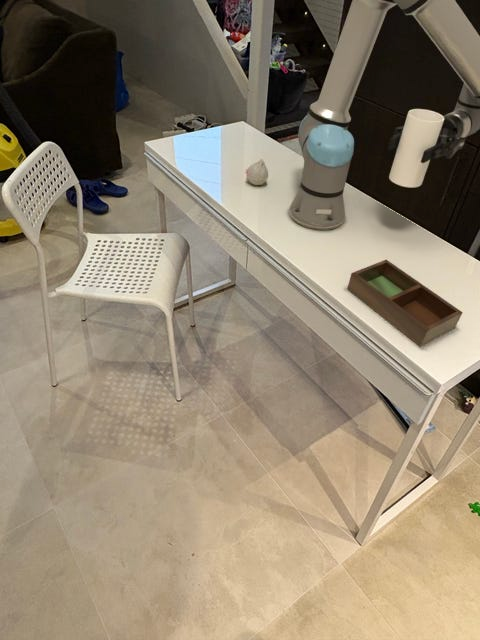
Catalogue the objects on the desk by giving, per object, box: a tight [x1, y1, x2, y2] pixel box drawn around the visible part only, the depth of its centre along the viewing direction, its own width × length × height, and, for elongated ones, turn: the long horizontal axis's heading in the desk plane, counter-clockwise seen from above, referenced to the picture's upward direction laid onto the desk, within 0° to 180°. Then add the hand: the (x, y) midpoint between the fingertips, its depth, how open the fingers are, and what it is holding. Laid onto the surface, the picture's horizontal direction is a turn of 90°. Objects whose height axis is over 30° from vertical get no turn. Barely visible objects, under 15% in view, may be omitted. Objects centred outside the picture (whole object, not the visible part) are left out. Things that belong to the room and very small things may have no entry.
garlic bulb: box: [244, 158, 269, 186], centre depth 147 cm, size 6×7×8 cm
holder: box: [347, 259, 464, 348], centre depth 108 cm, size 11×22×5 cm, turn 34°
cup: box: [388, 108, 444, 188], centre depth 118 cm, size 8×8×16 cm
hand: (406, 150), depth 115 cm, fingers closed on cup, 8 cm apart
